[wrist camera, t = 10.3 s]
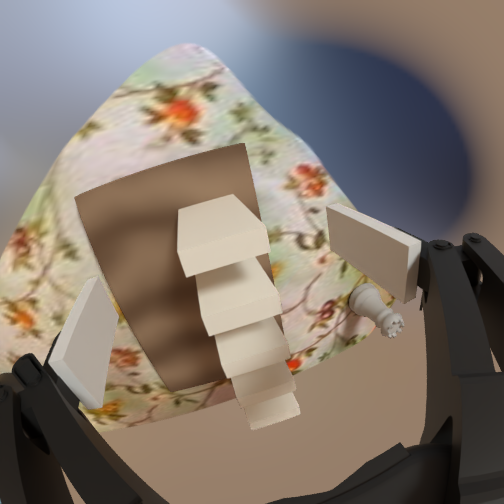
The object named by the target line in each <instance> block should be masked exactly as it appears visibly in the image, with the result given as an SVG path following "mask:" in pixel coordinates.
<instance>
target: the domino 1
mask: <svg viewBox="0 0 504 504" xmlns="http://www.w3.org/2000/svg"><path fill="white" fill-rule="evenodd" d="M269 252H271V250H270V245H269V240H268V235H267V230H266V226H265V225H264V224H263V223H262V222H261V221H260V220H259V219H258V218H257V217H256V216H255V215H254V214H253V213H252V212H251V211H250V210H249V209H248V208H247V207H246V206H245V205H244V204H243V203H242V202H241V201H240V200H239V199H238V198H237V197H236V196H235V195H234V194H231V195H227V196H223V197H220V198H216V199H213V200H209V201H206V202H202V203H199V204H195V205H192V206H188V207H185V208H182V209H179V210H178V241H177V253H178V255H179V258H180V261H181V264H182V267H183V270H184V273H185V275H186V277H189V276H193V275H196V274H199V273H203V272H206V271H209V270H213V269H216V268H219V267H223V266H226V265H229V264H233V263H236V262H239V261H243V260H246V259H249V258H252V257H256V256H259V255H262V254H266V253H269Z"/></svg>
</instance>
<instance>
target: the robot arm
mask: <svg viewBox="0 0 504 504" xmlns="http://www.w3.org/2000/svg"><path fill="white" fill-rule="evenodd" d="M326 211H327V220H328V229H329V238H330V249H331V250H332V251H333V252H335V253H336V254H338V255H339V256H340V257H342V258H343V259H344V260H346V261H347V262H349V263H350V264H351V265H353V266H354V267H355V268H357V269H358V270H359V271H361V272H362V273H364V274H365V275H366V276H368V277H369V278H370V279H372V280H373V281H374V282H376V283H377V284H378V285H380V286H381V287H382V288H383V289H385V290H386V291H387V292H389V293H390V294H391V295H393V296H394V297H395V298H396V299H398V300H399V301H400V302H402V303H403V304H405V303H407V302H408V301H410V300H412V299H414V298H416V291H417V286H419V287H420V288H422V289H423V292H422V299H421V305H420V310H422V307H423V311H424V322H425V335H426V353H427V401H426V418H425V427H424V431H423V434H422V437H421V441H420V444H419V445H414V446H411V447H407V448H404V447H403V445H402V444H401V443H398V444H397V445H395V446H394V447H392V448H390V449H389V450H387V451H385V452H384V453H382V454H380V455H379V456H377V457H375V458H374V459H372V460H370V461H368V462H366V463H365V464H364V465H363V466H362V467H360V468H359V469H358V470H357V471H356V472H355V473H353V474H352V475H351V476H349V477H348V478H347V479H346V480H344V481H343V482H342V483H341V484H339V485H338V486H337V487H335V488H334V489H333V490H330V491H327V492H323V493H317V494H312V495H305V496H300V497H291V498H283V499H280V500H277V501H273V502H270V503H267V504H504V255H503V254H502V253H501V252H500V251H499V250H498V249H497V248H496V247H494V246H493V245H492V244H491V243H490V242H489V241H488V240H487V239H486V238H484V237H483V236H481V235H479V234H477V233H476V234H475V233H469V234H465V235H464V236H463V243H462V245H460V246H454V245H453V244H452V243H450V242H448V241H445V240H433V241H430V242H429V243H428V242H425V241H424V240H422V239H420V238H418V237H416V236H414V235H411V234H409V233H407V232H405V231H403V230H401V229H399V228H395V227H391V226H388V225H386V224H384V223H382V222H380V221H377V220H375V219H373V218H371V217H369V216H366V215H364V214H362V213H359V212H357V211H355V210H352V209H350V208H348V207H345V206H343V205H340V204H338V203H336V204H332V205H328V206H326ZM481 274H482V275H483V282H481V281H480V278H481ZM118 318H119V316H118V314H117V312H116V310H115V308H114V306H113V304H112V302H111V301H110V299H109V297H108V295H107V292H106V290H105V288H104V286H103V284H102V282H101V280H100V278H99V276H96V277H93V278H90V279H87V281H86V283H85V284H84V286H83V288H82V290H81V292H80V294H79V296H78V298H77V300H76V302H75V304H74V306H73V308H72V310H71V312H70V314H69V316H68V318H67V320H66V322H65V324H64V326H63V328H62V331H60V333H59V334H58V335H57V336H56V337H55V339H54V341H53V344H52V347H51V348H50V351H49V353H48V355H47V358H46V360H45V363H44V365H43V366H42V365H41V364H40V362H39V361H38V360H37V358H36V357H35V356H34V355H33V354H32V353H28V354H25V355H23V356H22V357H20V358H19V359H18V360H17V361H16V363H15V364H14V365H13V368H12V373H3V374H1V375H0V504H74V503H73V500H72V497H71V495H70V492H69V490H68V487H67V484H66V482H65V478H64V475H63V472H62V469H63V471H64V472H65V474H66V475H67V477H68V479H69V480H70V482H71V483H72V485H73V486H74V488H75V489H76V491H77V492H78V494H79V495H80V496H81V498H82V499H83V501H84V502H85V503H86V504H169V503H168V502H167V501H166V500H164V499H163V498H162V497H161V496H160V495H159V494H157V493H156V492H155V491H154V490H153V489H152V488H151V487H149V486H148V485H147V484H146V483H145V482H144V481H143V480H142V479H141V478H140V477H139V476H138V475H137V474H136V473H135V472H134V471H132V469H130V467H129V466H128V465H127V464H126V463H125V462H124V461H123V460H122V459H121V458H120V457H119V456H118V455H117V454H116V453H115V451H114V450H113V449H112V448H111V447H110V446H109V445H108V444H107V442H106V441H105V440H104V439H103V438H102V436H101V435H100V434H99V433H98V432H97V430H96V429H95V428H94V427H93V425H92V424H91V423H90V422H89V420H88V419H87V418H86V416H85V415H84V414H83V412H82V411H81V410H80V409H79V408H78V406H79V401H80V402H81V403H82V404H83V405H84V406H85V407H86V408H87V409H95V408H102V406H103V398H104V391H105V385H106V378H107V372H108V367H109V361H110V356H111V351H112V346H113V341H114V336H115V332H116V327H117V323H118ZM490 348H491V350H492V352H493V354H494V356H495V358H496V361H497V363H498V365H499V367H500V369H501V371H502V372H495V369H494V364H493V359H492V354H491V350H490ZM61 467H62V469H61Z"/></svg>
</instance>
